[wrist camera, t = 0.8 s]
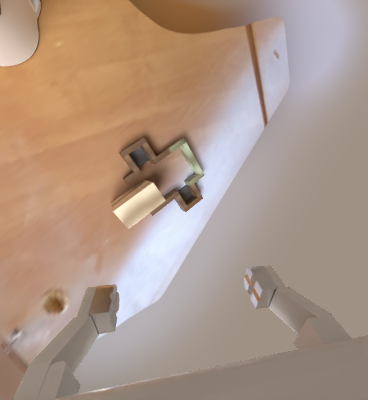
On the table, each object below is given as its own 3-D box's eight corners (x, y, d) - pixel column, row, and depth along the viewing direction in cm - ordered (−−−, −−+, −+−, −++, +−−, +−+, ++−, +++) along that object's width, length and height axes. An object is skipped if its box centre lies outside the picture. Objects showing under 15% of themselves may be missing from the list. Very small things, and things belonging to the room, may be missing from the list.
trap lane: (109, 159, 42) (109, 159, 40) (169, 121, 47) (173, 118, 44) (160, 226, 51) (163, 230, 48) (207, 188, 55) (212, 190, 52)
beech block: (110, 202, 44) (113, 211, 36) (143, 179, 47) (153, 182, 38) (123, 218, 46) (128, 229, 38) (154, 194, 48) (165, 200, 40)
